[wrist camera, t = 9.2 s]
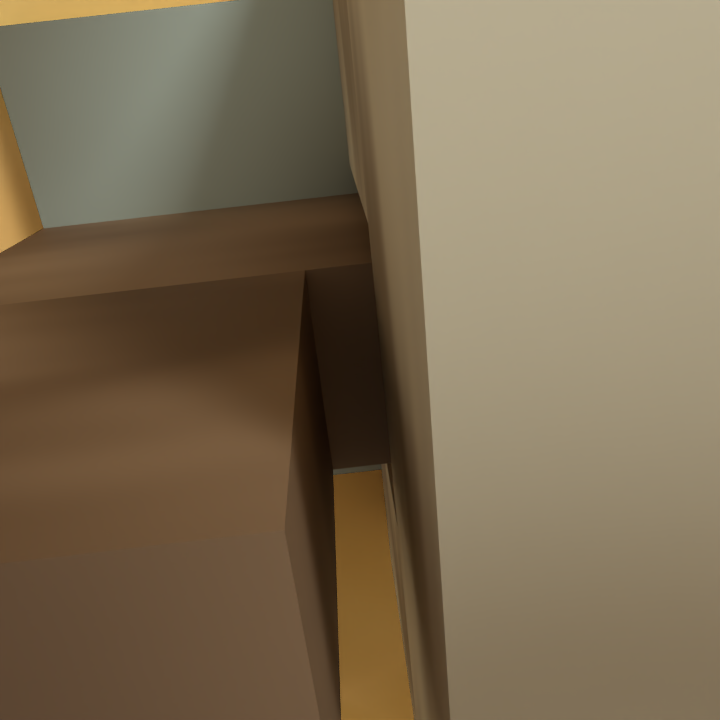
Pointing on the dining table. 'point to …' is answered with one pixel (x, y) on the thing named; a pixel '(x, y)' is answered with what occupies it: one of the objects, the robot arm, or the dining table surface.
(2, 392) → the walnut slotted plate
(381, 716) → the dining table surface
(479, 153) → the maple slotted plate
